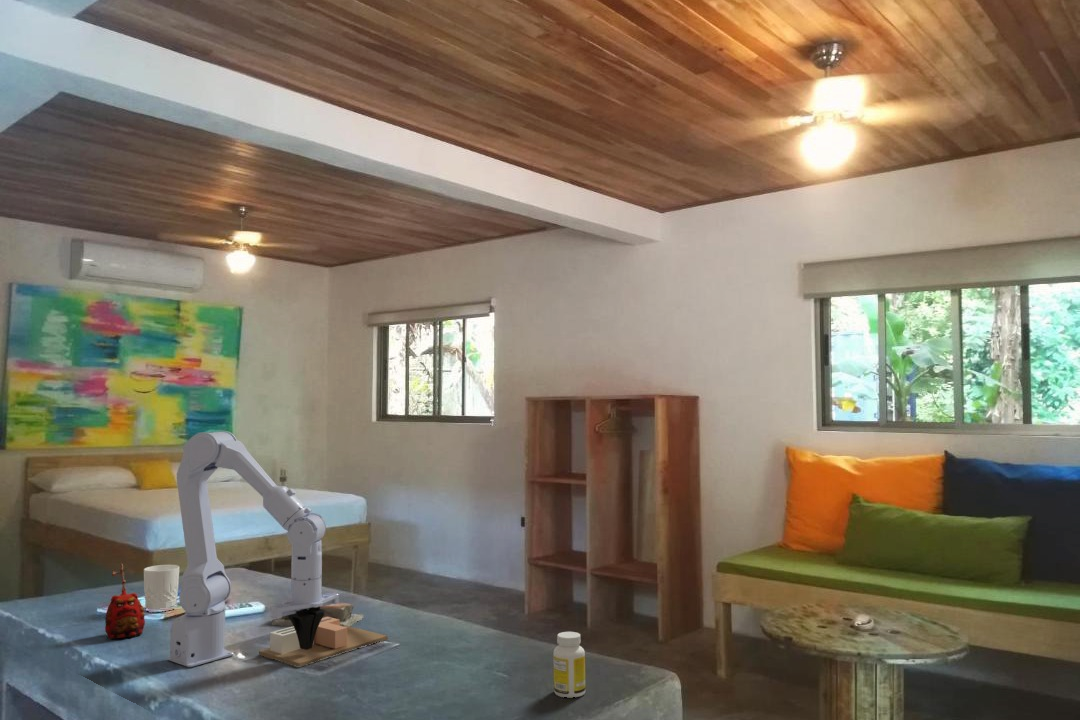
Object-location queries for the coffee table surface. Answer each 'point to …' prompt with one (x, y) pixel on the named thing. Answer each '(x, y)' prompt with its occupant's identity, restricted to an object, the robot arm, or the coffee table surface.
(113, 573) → the red clay folk toy
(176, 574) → the white cup
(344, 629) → the block
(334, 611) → the packaged product
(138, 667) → the coffee table surface
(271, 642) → the white toaster
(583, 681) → the supplement bottle
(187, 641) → the robot arm
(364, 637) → the board
